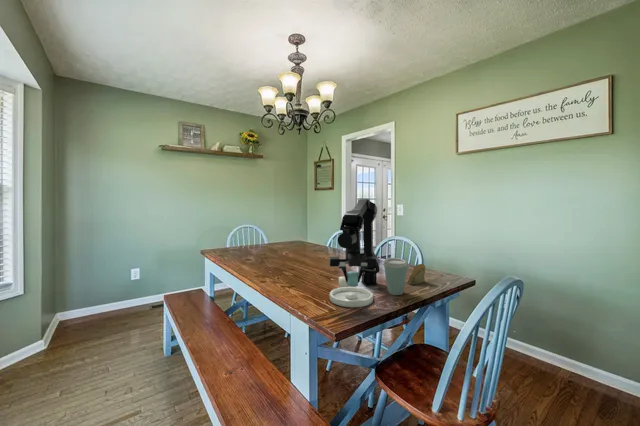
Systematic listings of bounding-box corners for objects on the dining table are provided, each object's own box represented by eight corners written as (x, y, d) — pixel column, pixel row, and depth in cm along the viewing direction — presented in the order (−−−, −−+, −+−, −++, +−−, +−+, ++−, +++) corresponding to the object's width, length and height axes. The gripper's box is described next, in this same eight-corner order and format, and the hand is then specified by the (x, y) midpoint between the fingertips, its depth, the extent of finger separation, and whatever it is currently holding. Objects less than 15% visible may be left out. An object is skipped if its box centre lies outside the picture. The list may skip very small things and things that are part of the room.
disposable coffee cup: (411, 296, 125) (412, 262, 124) (388, 297, 123) (388, 263, 122) (401, 288, 135) (401, 257, 134) (379, 289, 133) (379, 258, 133)
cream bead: (346, 286, 139) (346, 276, 139) (349, 289, 135) (349, 278, 134) (337, 287, 138) (337, 276, 137) (340, 289, 133) (340, 279, 133)
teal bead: (345, 285, 115) (345, 273, 115) (350, 282, 119) (350, 270, 118) (354, 287, 112) (354, 274, 112) (360, 284, 116) (360, 272, 116)
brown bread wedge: (410, 282, 137) (430, 279, 138) (404, 265, 142) (424, 262, 142) (405, 289, 146) (424, 286, 147) (400, 274, 151) (418, 271, 152)
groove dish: (362, 290, 132) (362, 285, 132) (380, 304, 115) (380, 298, 115) (324, 294, 127) (324, 289, 127) (337, 309, 110) (337, 303, 110)
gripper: (330, 247, 106) (330, 289, 107) (380, 247, 107) (380, 288, 107) (329, 243, 118) (329, 280, 118) (374, 242, 118) (374, 280, 119)
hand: (352, 282), depth 115 cm, fingers closed on teal bead, 4 cm apart
